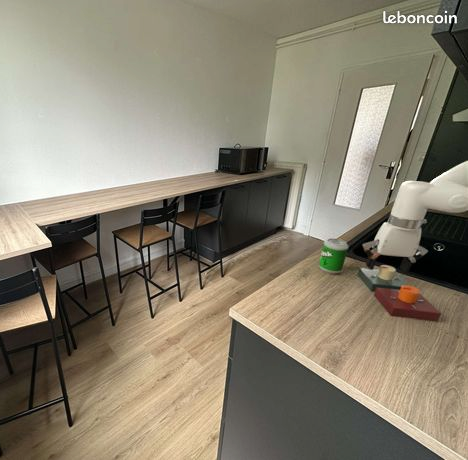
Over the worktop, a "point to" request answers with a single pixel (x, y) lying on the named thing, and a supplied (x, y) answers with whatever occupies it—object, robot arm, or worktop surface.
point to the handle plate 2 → (406, 306)
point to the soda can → (333, 255)
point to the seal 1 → (386, 272)
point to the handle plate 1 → (380, 280)
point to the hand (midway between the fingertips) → (386, 269)
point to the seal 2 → (408, 294)
